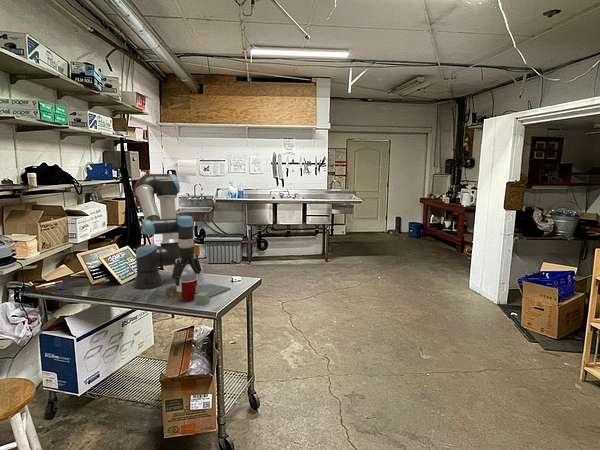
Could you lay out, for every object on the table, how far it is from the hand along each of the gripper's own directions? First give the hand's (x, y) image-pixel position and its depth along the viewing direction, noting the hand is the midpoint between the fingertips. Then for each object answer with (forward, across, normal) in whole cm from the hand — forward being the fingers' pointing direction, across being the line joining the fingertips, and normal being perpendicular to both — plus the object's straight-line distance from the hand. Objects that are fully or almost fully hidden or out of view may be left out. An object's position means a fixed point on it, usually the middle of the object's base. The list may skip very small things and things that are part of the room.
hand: (187, 288), depth 191 cm
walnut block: (+6, 0, +11) cm, 13 cm away
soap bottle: (+6, +20, +15) cm, 26 cm away
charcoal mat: (+6, +16, 0) cm, 17 cm away
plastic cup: (+6, 0, 0) cm, 6 cm away
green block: (+6, 0, -10) cm, 12 cm away
